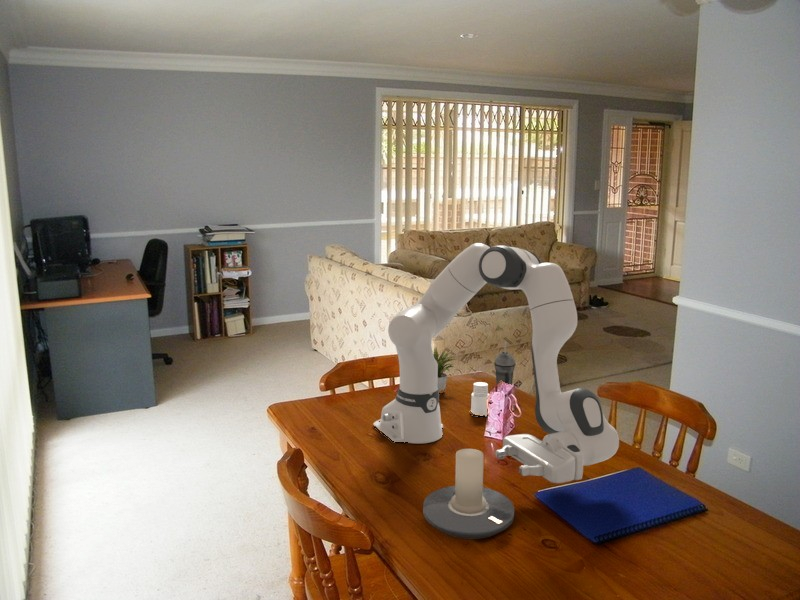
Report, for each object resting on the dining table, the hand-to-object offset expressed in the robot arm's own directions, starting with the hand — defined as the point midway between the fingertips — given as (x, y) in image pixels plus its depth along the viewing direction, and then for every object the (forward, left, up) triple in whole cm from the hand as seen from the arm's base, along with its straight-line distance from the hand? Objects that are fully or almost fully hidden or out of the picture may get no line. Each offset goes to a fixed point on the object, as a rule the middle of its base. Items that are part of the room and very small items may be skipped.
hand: (508, 462), depth 146 cm
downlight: (-47, +40, -12) cm, 63 cm away
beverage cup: (-55, +59, -12) cm, 81 cm away
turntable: (-3, -10, -10) cm, 14 cm away
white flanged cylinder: (-3, -10, -8) cm, 13 cm away
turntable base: (-3, -10, -11) cm, 15 cm away
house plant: (-72, +43, -12) cm, 84 cm away
